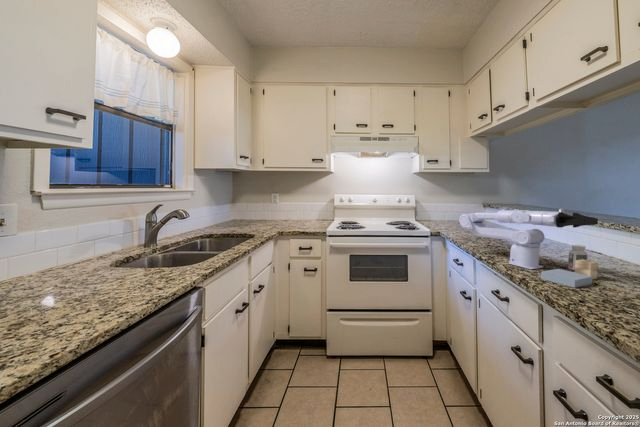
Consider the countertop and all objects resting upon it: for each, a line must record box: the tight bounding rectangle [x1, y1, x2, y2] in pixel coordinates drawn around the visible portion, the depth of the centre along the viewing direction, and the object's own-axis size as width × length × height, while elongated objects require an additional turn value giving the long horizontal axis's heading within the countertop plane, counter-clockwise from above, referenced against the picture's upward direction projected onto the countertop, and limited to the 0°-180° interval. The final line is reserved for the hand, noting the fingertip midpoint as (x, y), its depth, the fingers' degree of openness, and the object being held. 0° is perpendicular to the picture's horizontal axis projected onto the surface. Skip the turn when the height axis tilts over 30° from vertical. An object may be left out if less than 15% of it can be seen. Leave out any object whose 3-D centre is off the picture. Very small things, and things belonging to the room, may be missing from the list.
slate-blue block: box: [540, 268, 593, 289], centre depth 96 cm, size 10×10×3 cm
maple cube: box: [574, 259, 599, 280], centre depth 100 cm, size 4×4×6 cm
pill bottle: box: [567, 244, 588, 271], centre depth 110 cm, size 5×5×10 cm
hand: (591, 221), depth 95 cm, fingers open, 7 cm apart
